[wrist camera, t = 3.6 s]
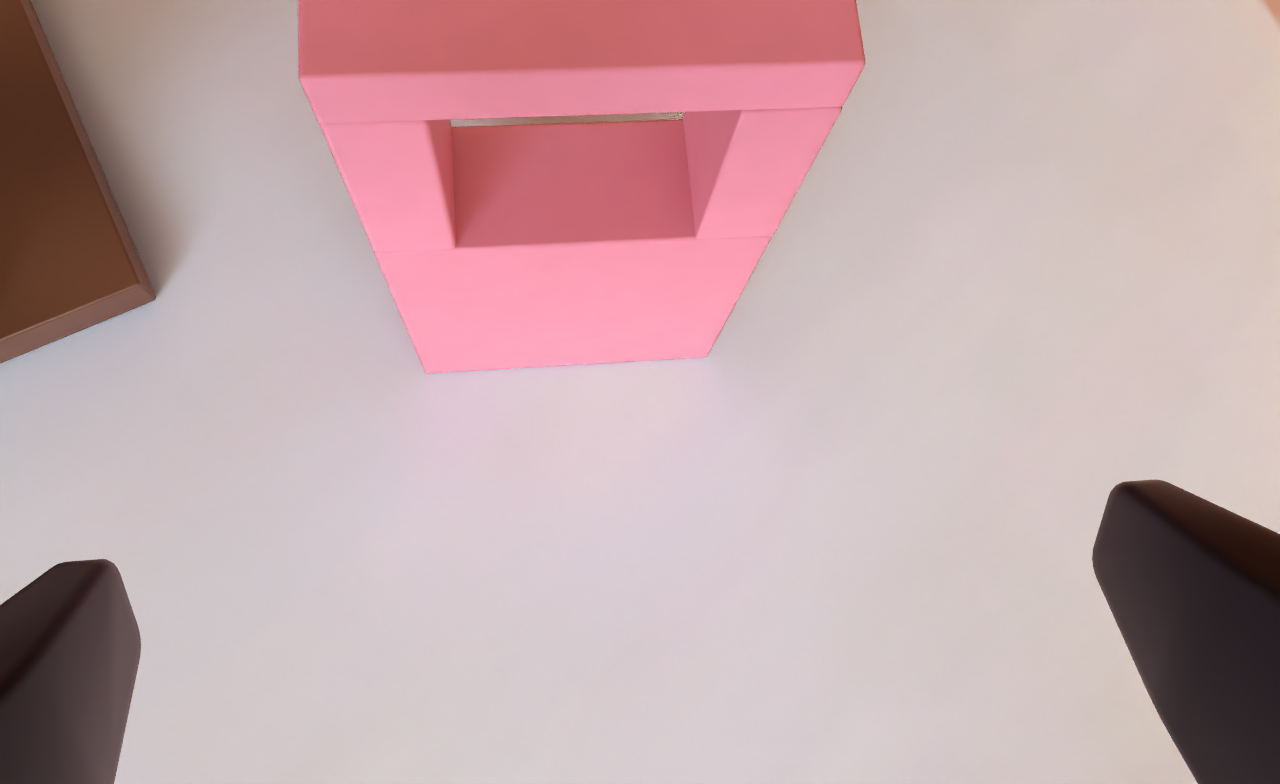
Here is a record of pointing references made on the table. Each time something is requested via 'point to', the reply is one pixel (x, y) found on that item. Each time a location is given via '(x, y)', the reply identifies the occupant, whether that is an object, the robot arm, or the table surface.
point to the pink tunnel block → (573, 161)
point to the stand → (53, 204)
